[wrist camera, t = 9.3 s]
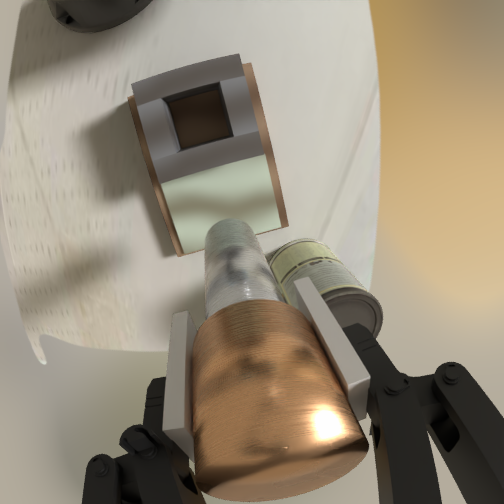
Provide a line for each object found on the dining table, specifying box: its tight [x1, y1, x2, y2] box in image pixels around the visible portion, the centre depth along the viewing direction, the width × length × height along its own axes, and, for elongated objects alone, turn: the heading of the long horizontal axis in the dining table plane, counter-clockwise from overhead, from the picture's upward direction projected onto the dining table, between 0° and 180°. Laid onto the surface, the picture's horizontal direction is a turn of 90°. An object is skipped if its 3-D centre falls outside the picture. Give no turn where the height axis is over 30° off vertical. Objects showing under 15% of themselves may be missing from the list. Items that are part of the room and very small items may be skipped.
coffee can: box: [269, 239, 383, 339], centre depth 35 cm, size 10×10×14 cm
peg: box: [192, 218, 369, 502], centre depth 15 cm, size 5×5×18 cm
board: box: [128, 54, 289, 257], centre depth 30 cm, size 20×14×8 cm
